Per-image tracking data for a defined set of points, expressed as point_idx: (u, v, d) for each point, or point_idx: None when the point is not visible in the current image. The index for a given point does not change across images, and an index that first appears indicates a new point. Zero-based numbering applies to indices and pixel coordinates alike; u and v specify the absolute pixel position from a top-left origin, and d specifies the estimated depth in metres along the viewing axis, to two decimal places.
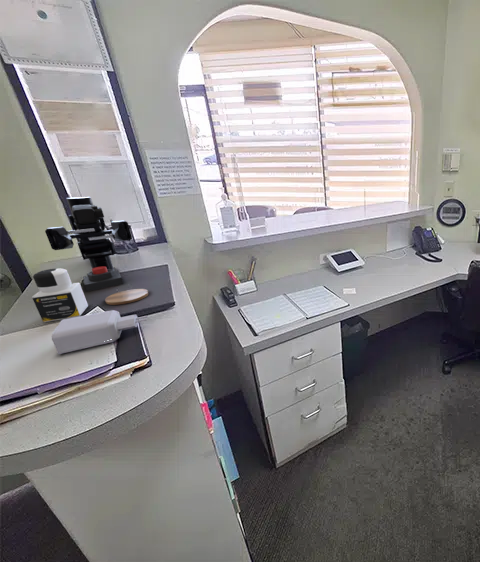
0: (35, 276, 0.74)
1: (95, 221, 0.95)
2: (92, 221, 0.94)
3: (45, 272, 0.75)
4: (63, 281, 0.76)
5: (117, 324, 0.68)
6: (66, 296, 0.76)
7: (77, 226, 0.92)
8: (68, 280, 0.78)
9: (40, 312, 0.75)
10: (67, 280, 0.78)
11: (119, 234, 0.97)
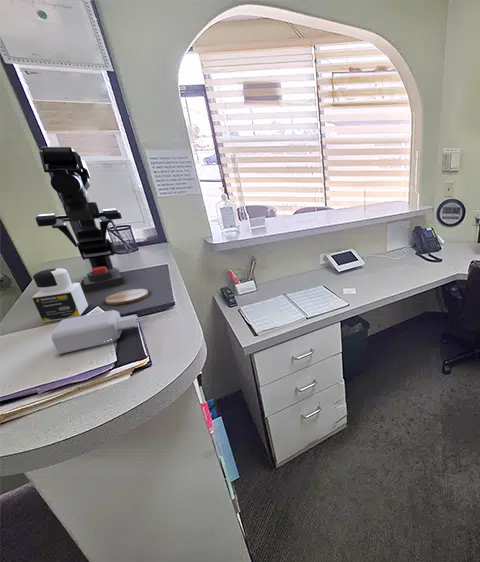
0: (35, 276, 0.74)
1: None
2: None
3: (45, 272, 0.75)
4: (63, 281, 0.76)
5: (117, 324, 0.68)
6: (66, 296, 0.76)
7: (68, 215, 0.90)
8: (68, 280, 0.78)
9: (40, 312, 0.75)
10: (67, 280, 0.78)
11: None
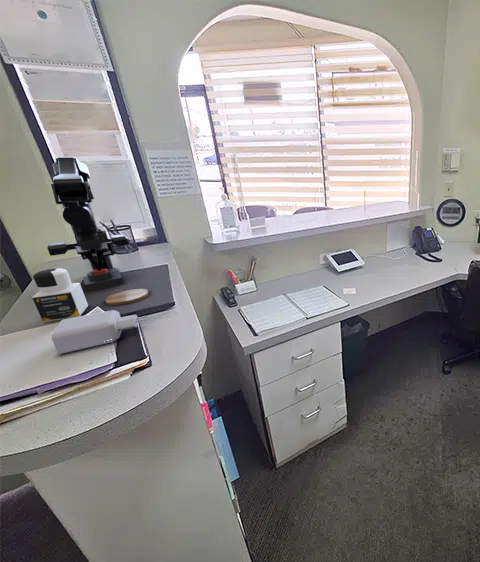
0: (35, 276, 0.74)
1: None
2: None
3: (45, 272, 0.75)
4: (63, 281, 0.76)
5: (117, 324, 0.68)
6: (66, 296, 0.76)
7: (79, 244, 0.93)
8: (68, 280, 0.78)
9: (40, 312, 0.75)
10: (67, 280, 0.78)
11: None
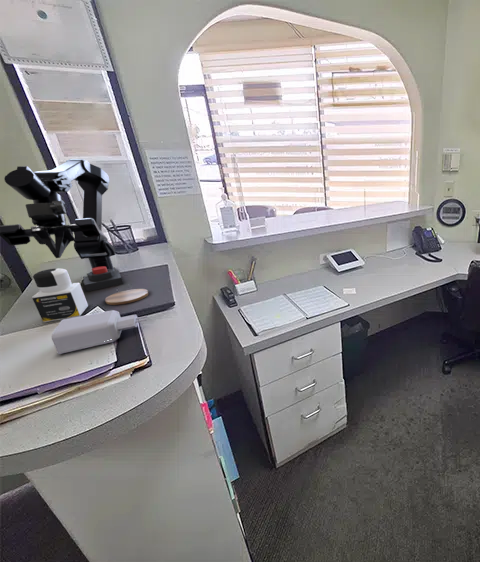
0: (35, 276, 0.74)
1: (56, 218, 0.83)
2: (52, 218, 0.83)
3: (45, 272, 0.75)
4: (63, 281, 0.76)
5: (117, 324, 0.68)
6: (66, 296, 0.76)
7: (35, 223, 0.82)
8: (68, 280, 0.78)
9: (40, 312, 0.75)
10: (67, 280, 0.78)
11: (64, 237, 0.86)
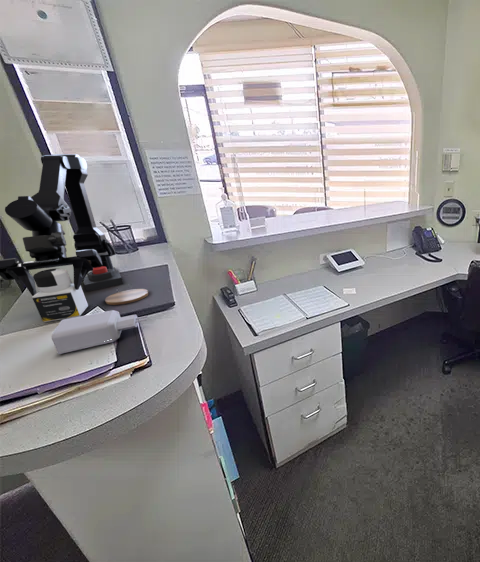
0: (35, 276, 0.74)
1: (55, 250, 0.78)
2: (51, 250, 0.77)
3: (45, 272, 0.75)
4: (63, 281, 0.76)
5: (117, 324, 0.68)
6: (66, 297, 0.76)
7: (33, 256, 0.76)
8: (68, 280, 0.78)
9: (40, 312, 0.75)
10: (67, 280, 0.78)
11: (83, 267, 0.82)
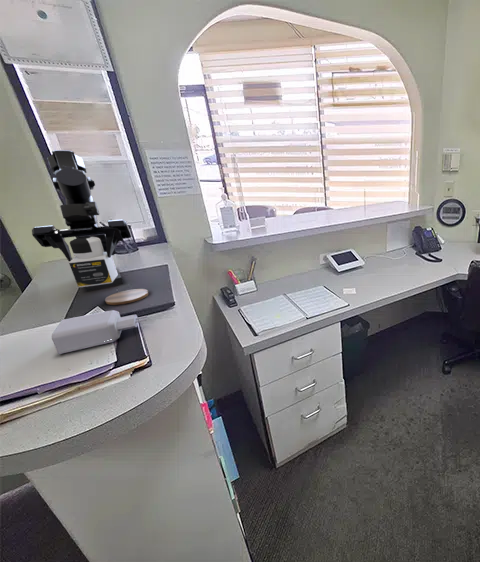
0: (72, 242, 0.77)
1: (89, 219, 0.82)
2: (85, 219, 0.81)
3: (81, 239, 0.79)
4: (97, 248, 0.80)
5: (117, 324, 0.68)
6: (100, 263, 0.80)
7: (68, 224, 0.80)
8: (101, 247, 0.82)
9: (75, 277, 0.79)
10: (101, 248, 0.81)
11: (114, 237, 0.86)
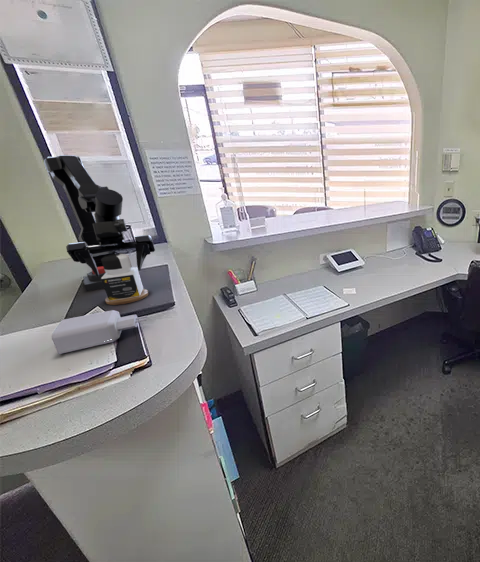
0: (104, 260, 0.83)
1: (118, 235, 0.87)
2: (114, 235, 0.87)
3: (111, 256, 0.84)
4: (126, 264, 0.86)
5: (117, 324, 0.68)
6: (129, 278, 0.86)
7: (99, 241, 0.85)
8: (130, 263, 0.87)
9: (107, 292, 0.84)
10: (129, 264, 0.87)
11: (142, 251, 0.92)
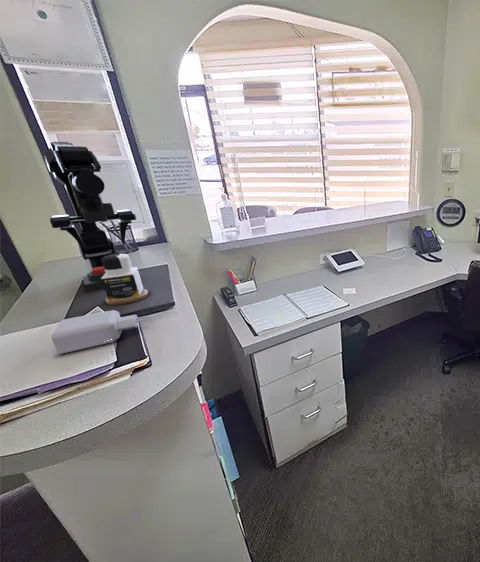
0: (104, 260, 0.83)
1: None
2: None
3: (111, 256, 0.84)
4: (126, 264, 0.86)
5: (117, 324, 0.68)
6: (129, 278, 0.86)
7: (83, 217, 0.87)
8: (130, 263, 0.87)
9: (107, 292, 0.84)
10: (129, 264, 0.87)
11: None
